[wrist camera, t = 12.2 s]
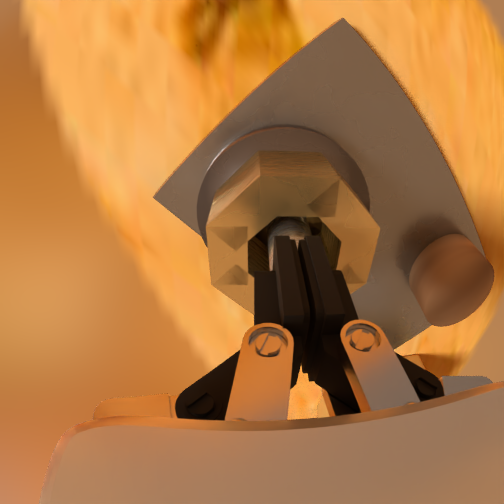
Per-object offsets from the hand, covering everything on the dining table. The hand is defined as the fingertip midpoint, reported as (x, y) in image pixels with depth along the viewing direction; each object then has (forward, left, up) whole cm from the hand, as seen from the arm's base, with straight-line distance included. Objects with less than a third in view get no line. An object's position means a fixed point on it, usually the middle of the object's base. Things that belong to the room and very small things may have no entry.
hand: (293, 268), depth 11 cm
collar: (0, 0, -5) cm, 5 cm away
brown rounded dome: (-12, -5, -7) cm, 15 cm away
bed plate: (-6, -2, -7) cm, 10 cm away
